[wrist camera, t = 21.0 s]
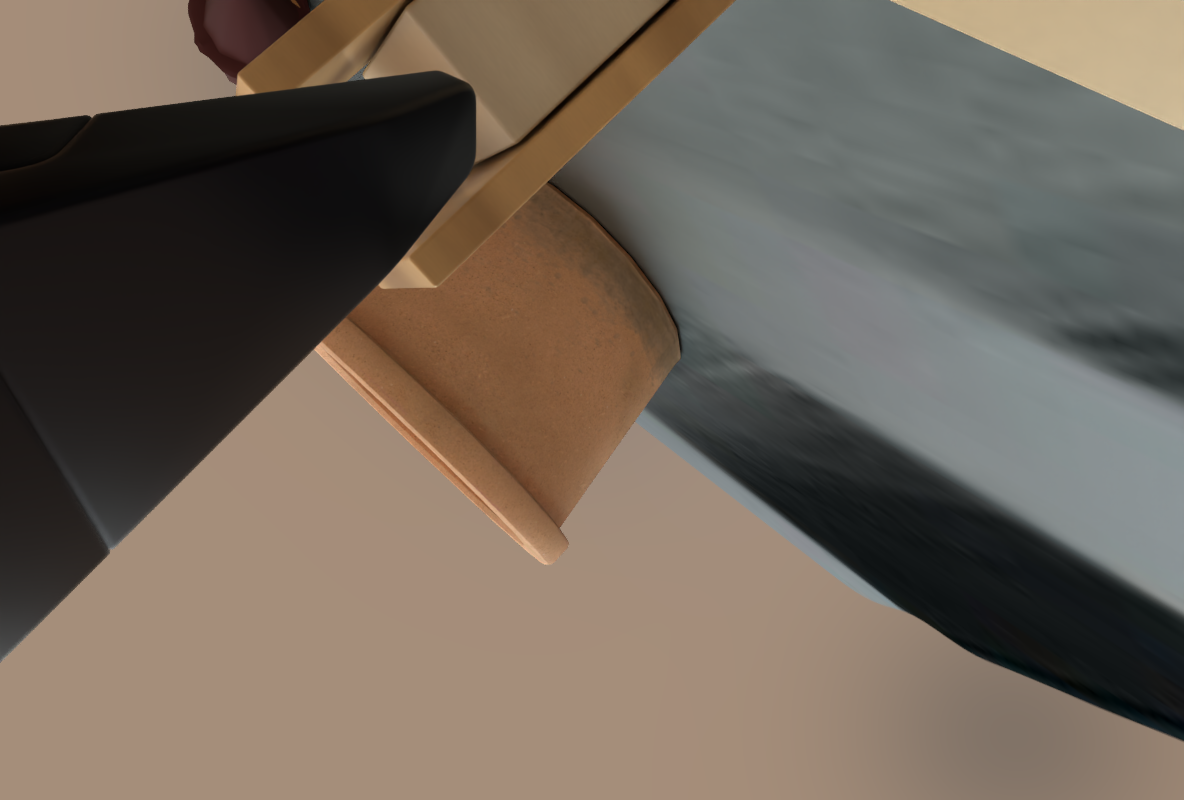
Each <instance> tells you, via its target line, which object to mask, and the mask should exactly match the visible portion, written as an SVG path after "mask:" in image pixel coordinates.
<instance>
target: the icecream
mask: <svg viewBox="0 0 1184 800" xmlns="http://www.w3.org/2000/svg"><path fill="white" fill-rule="evenodd" d="M309 13H310V9H309V5H308V1H307V0H189V3H188V14H189V17H190V21H191V24H192V27H193V30H194V36H195V37H194V42H195V44H196V45H197V46H198V48H199V51H200V52H201V53H203V54H204V55H206V56H207V57H209V58H210V59H211V60H212V61H213V62H214V63H215V64H216V65H217V66H218V67H219V68H220V69H221V70H222V71H223V72H224V73H225V74H226V76H227V78H228V79H229V81H231V82H232V83H234V84H236V85H237V75H238V73H239V72H240V71H241V70H242V69H243V68H244V67H246V66H247V65H248V64H249V63H250V62H252V61H253V60H254V59H255V58H256V57H257V56H259V55H260V54H261V53H262V52H263V51H265V50H266V49H267V48H268V47H269V46H271V45H272V44H273V43H274V42H275V41H277V40H278V39H279V38H280V37H281V36H283V35H284V34H285V33H286V32H287V31H288V30H290V29H291V28H292V27H293V26H294V25H296V24H297V23H298V22H299V21H300V20H302V19H303V18H304V17H305V16H306V15H308V14H309Z"/></svg>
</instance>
